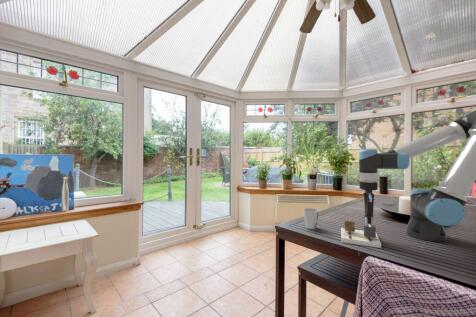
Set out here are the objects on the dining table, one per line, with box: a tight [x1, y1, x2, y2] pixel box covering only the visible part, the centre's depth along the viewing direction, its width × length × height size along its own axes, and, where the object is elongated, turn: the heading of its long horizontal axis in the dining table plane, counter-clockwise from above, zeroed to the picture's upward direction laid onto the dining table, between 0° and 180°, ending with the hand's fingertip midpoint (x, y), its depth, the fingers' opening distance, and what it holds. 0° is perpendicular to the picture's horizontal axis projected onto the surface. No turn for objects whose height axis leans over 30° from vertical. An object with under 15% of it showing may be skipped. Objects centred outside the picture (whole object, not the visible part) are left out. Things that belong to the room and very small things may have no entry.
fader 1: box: [344, 219, 356, 232], centre depth 106 cm, size 4×3×5 cm
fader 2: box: [363, 223, 377, 238], centre depth 98 cm, size 4×3×5 cm
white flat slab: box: [340, 227, 382, 249], centre depth 103 cm, size 16×15×2 cm
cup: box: [302, 207, 320, 230], centre depth 119 cm, size 8×8×10 cm
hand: (369, 229), depth 103 cm, fingers closed
